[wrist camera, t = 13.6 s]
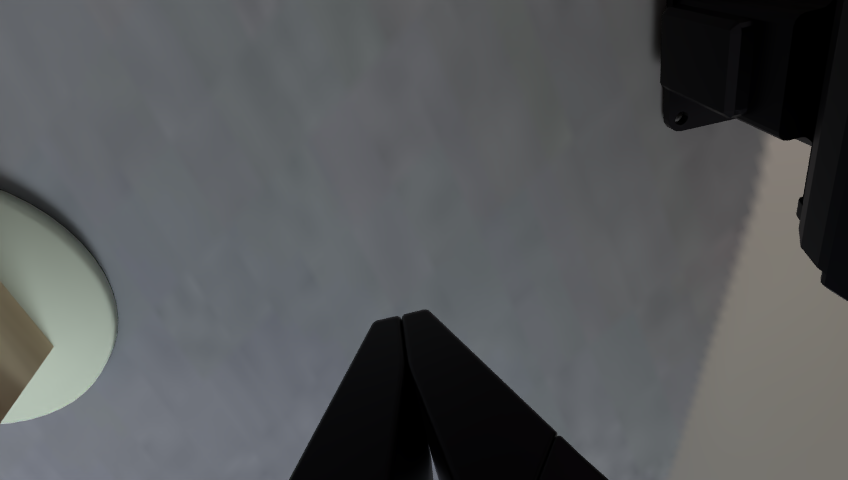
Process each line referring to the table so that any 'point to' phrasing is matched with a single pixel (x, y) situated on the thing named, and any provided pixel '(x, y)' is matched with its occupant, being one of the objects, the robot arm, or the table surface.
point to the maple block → (18, 350)
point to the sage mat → (56, 305)
